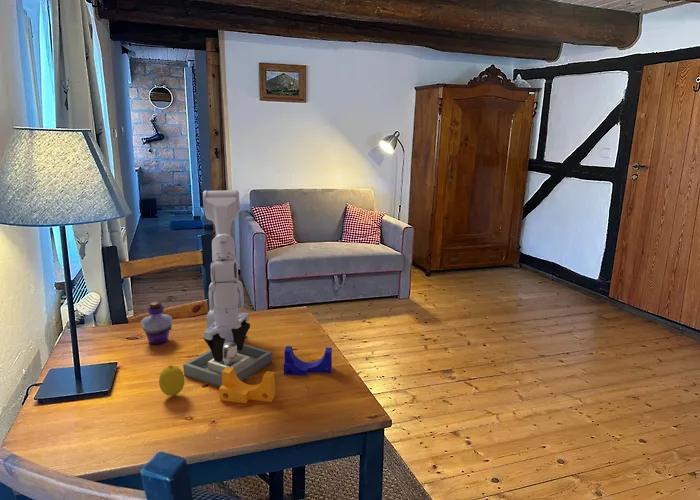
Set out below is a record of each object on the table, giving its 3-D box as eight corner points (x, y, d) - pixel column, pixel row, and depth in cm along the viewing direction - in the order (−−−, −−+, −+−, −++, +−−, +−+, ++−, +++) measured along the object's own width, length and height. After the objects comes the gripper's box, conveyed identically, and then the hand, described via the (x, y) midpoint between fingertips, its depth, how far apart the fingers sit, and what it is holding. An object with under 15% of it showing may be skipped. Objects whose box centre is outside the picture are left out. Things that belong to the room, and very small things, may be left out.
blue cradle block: (283, 375, 128) (283, 353, 127) (286, 366, 133) (286, 346, 131) (330, 376, 128) (330, 355, 126) (331, 368, 132) (331, 347, 131)
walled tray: (184, 375, 127) (183, 364, 126) (229, 349, 142) (229, 339, 141) (228, 390, 120) (228, 379, 119) (272, 362, 135) (272, 351, 134)
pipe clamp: (219, 400, 116) (218, 375, 114) (227, 391, 120) (226, 366, 119) (268, 406, 114) (268, 381, 112) (275, 396, 118) (274, 372, 116)
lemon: (162, 405, 114) (159, 373, 112) (159, 393, 118) (156, 362, 116) (187, 399, 116) (185, 368, 114) (183, 388, 121) (180, 358, 119)
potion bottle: (180, 338, 148) (177, 300, 145) (158, 350, 141) (155, 310, 137) (158, 333, 152) (154, 296, 148) (136, 344, 144) (131, 305, 141)
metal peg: (218, 368, 130) (217, 346, 128) (228, 361, 133) (227, 341, 132) (231, 371, 128) (230, 349, 127) (240, 364, 132) (240, 343, 130)
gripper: (217, 318, 118) (220, 370, 122) (257, 300, 131) (258, 347, 134) (196, 312, 122) (199, 363, 125) (236, 295, 134) (238, 342, 137)
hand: (228, 355), depth 130 cm, fingers open, 7 cm apart
